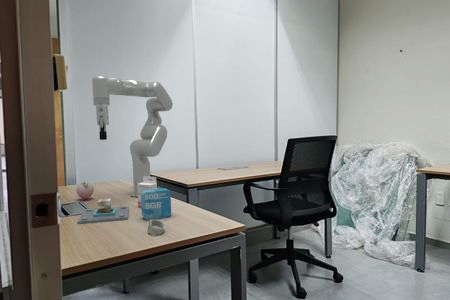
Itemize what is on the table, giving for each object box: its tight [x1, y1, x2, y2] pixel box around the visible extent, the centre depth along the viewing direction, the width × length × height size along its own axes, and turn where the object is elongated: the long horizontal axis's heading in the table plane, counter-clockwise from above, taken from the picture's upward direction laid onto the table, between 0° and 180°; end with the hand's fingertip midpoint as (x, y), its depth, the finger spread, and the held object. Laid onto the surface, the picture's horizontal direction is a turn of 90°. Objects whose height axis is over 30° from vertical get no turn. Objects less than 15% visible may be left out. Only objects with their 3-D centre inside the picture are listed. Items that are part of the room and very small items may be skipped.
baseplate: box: [76, 205, 130, 225], centre depth 154 cm, size 20×20×2 cm
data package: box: [140, 187, 172, 221], centre depth 149 cm, size 12×4×12 cm, turn 114°
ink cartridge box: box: [137, 176, 158, 208], centre depth 168 cm, size 9×5×15 cm, turn 65°
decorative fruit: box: [75, 181, 95, 200], centre depth 187 cm, size 9×8×10 cm
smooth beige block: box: [97, 198, 112, 214], centre depth 154 cm, size 5×5×6 cm
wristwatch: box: [147, 219, 165, 236], centre depth 130 cm, size 9×6×5 cm
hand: (103, 139), depth 170 cm, fingers closed
